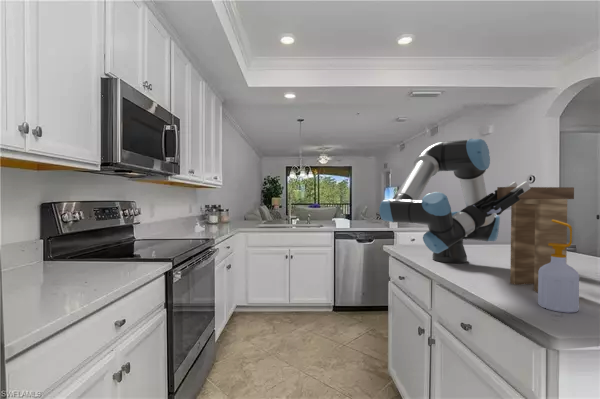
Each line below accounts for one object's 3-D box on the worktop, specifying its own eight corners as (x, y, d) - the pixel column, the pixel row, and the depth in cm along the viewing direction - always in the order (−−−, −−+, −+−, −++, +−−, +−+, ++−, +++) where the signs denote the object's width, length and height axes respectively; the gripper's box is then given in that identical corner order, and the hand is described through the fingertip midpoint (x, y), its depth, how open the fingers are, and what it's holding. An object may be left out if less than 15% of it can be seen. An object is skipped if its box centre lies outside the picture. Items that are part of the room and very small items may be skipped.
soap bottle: (539, 300, 102) (540, 218, 101) (578, 307, 96) (580, 219, 96) (536, 308, 95) (537, 220, 94) (578, 315, 89) (580, 221, 89)
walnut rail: (497, 199, 115) (497, 187, 115) (562, 199, 120) (563, 187, 120) (506, 199, 111) (506, 187, 111) (573, 199, 116) (574, 187, 116)
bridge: (510, 283, 121) (511, 198, 121) (534, 282, 123) (535, 198, 122) (539, 293, 109) (540, 199, 109) (565, 291, 111) (567, 199, 111)
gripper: (456, 227, 120) (507, 194, 123) (491, 233, 103) (549, 194, 106) (446, 209, 119) (498, 176, 123) (480, 212, 103) (539, 173, 106)
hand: (521, 185), depth 115 cm, fingers closed on walnut rail, 4 cm apart
